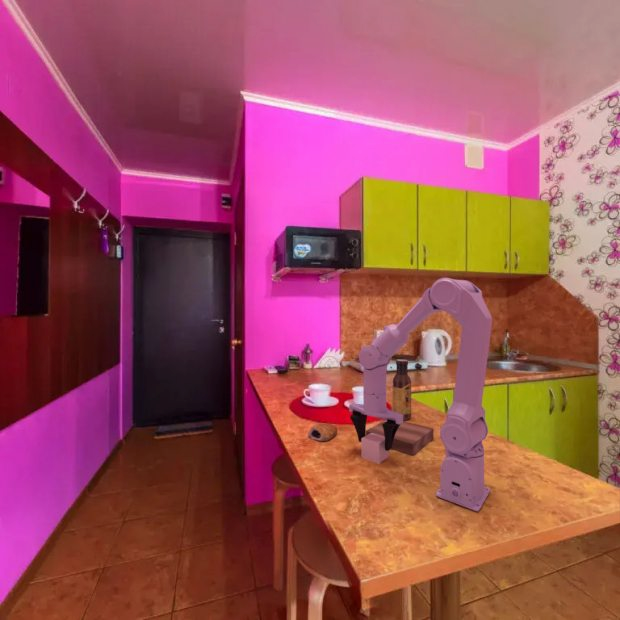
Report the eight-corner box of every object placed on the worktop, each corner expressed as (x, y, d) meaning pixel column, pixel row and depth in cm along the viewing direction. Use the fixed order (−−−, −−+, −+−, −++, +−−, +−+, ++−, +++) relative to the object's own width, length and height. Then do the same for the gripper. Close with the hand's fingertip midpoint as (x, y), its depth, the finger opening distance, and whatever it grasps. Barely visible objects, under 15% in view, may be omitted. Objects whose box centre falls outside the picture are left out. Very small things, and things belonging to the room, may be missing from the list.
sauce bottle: (409, 422, 108) (408, 362, 108) (390, 418, 111) (390, 360, 111) (413, 416, 113) (412, 359, 113) (395, 413, 117) (395, 358, 116)
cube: (378, 464, 79) (378, 443, 79) (361, 457, 83) (361, 438, 83) (388, 456, 83) (388, 437, 83) (371, 451, 86) (371, 432, 86)
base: (413, 455, 84) (412, 443, 84) (366, 441, 93) (365, 430, 93) (433, 438, 94) (433, 428, 94) (389, 427, 103) (389, 417, 103)
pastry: (325, 429, 103) (325, 417, 103) (343, 434, 98) (343, 421, 98) (306, 438, 96) (306, 425, 95) (324, 444, 91) (324, 431, 91)
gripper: (408, 393, 81) (408, 448, 81) (359, 384, 91) (359, 433, 91) (395, 400, 76) (395, 458, 76) (344, 389, 85) (344, 441, 85)
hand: (374, 445), depth 83 cm, fingers open, 7 cm apart
